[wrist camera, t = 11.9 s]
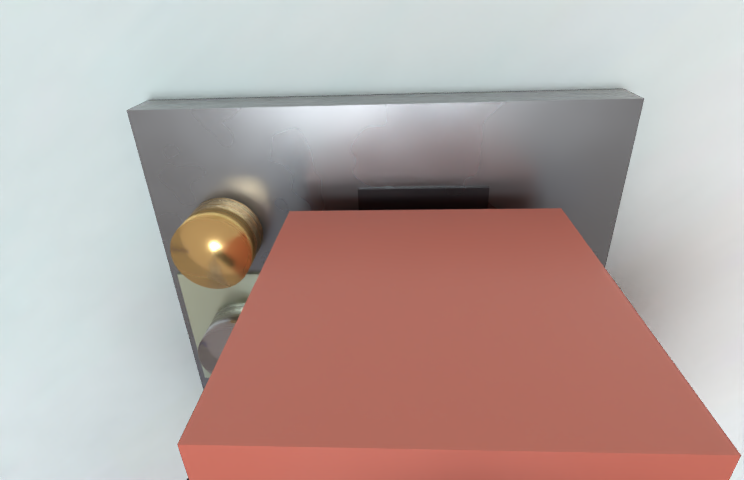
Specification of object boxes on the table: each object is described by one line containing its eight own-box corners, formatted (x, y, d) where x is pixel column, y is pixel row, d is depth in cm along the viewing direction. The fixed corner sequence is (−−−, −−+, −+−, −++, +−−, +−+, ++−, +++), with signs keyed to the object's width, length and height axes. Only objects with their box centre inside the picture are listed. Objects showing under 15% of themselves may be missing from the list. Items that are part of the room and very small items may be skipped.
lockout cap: (519, 460, 14) (593, 755, 9) (320, 456, 14) (274, 736, 9) (561, 208, 10) (740, 455, 5) (289, 211, 10) (177, 444, 5)
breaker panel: (540, 485, 17) (558, 549, 15) (243, 478, 18) (224, 538, 16) (624, 88, 11) (673, 112, 9) (147, 100, 11) (96, 124, 9)
